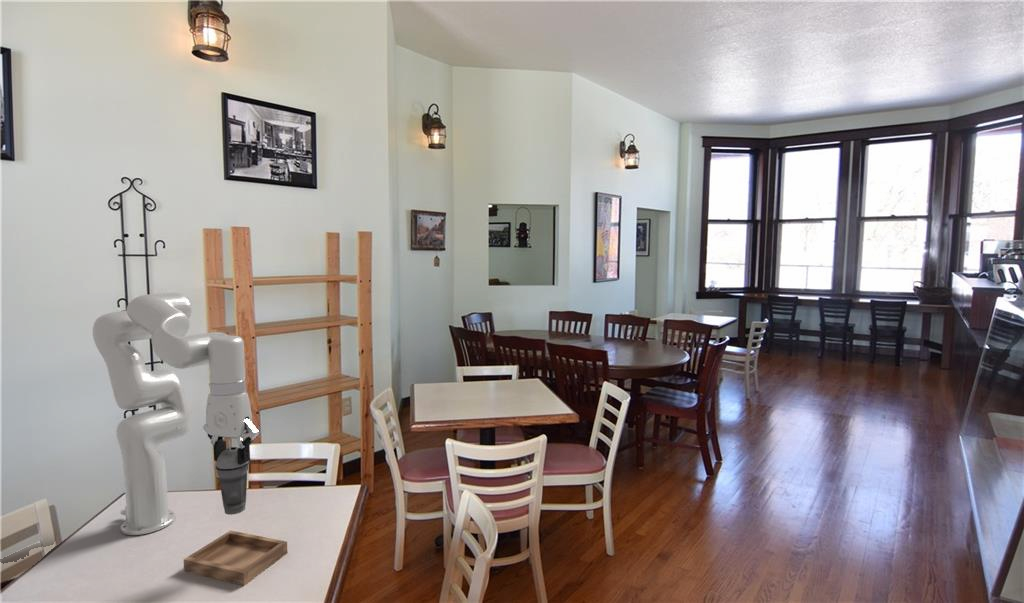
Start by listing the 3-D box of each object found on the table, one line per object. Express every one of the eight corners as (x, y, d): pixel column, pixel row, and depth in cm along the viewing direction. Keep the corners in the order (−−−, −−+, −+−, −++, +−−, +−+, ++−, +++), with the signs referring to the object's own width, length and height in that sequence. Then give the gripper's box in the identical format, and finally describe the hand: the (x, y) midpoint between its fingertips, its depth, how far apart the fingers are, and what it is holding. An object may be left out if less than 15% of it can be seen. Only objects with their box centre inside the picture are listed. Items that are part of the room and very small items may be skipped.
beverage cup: (237, 518, 127) (233, 436, 125) (210, 515, 129) (206, 434, 127) (258, 504, 134) (254, 426, 132) (232, 501, 136) (228, 424, 134)
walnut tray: (184, 571, 129) (183, 559, 129) (231, 541, 142) (230, 530, 142) (244, 585, 124) (243, 573, 123) (287, 552, 137) (286, 541, 136)
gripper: (186, 389, 128) (191, 462, 129) (245, 394, 122) (249, 471, 124) (213, 381, 135) (216, 451, 137) (269, 386, 130) (272, 459, 131)
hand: (232, 460), depth 130 cm, fingers closed on beverage cup, 6 cm apart
